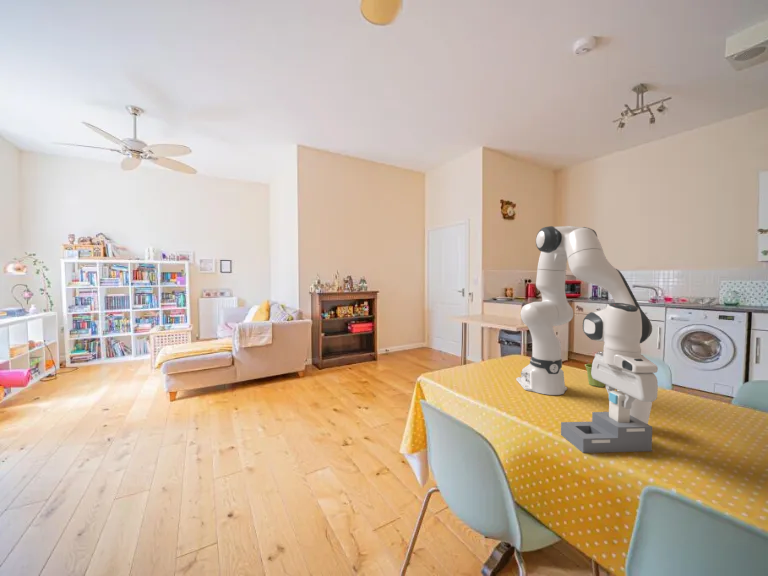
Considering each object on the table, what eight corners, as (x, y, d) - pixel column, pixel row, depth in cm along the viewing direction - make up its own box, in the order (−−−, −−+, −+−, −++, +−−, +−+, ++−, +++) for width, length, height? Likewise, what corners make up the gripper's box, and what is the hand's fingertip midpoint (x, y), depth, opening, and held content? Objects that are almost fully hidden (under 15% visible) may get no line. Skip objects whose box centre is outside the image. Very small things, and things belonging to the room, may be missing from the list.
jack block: (560, 434, 96) (561, 412, 96) (622, 433, 97) (623, 411, 97) (583, 453, 86) (584, 428, 86) (652, 451, 87) (652, 426, 87)
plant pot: (580, 381, 147) (580, 363, 147) (600, 381, 146) (600, 363, 146) (592, 388, 138) (592, 369, 137) (614, 388, 137) (614, 369, 137)
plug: (606, 420, 94) (607, 390, 93) (619, 420, 94) (620, 390, 93) (616, 425, 90) (617, 395, 90) (629, 425, 90) (630, 395, 90)
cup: (616, 418, 108) (617, 384, 107) (650, 426, 102) (651, 390, 102) (615, 427, 101) (616, 391, 100) (651, 436, 95) (652, 398, 95)
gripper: (586, 349, 101) (585, 391, 102) (640, 368, 81) (638, 420, 82) (605, 349, 102) (603, 391, 102) (663, 368, 81) (661, 419, 82)
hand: (619, 404), depth 92 cm, fingers closed on plug, 3 cm apart
